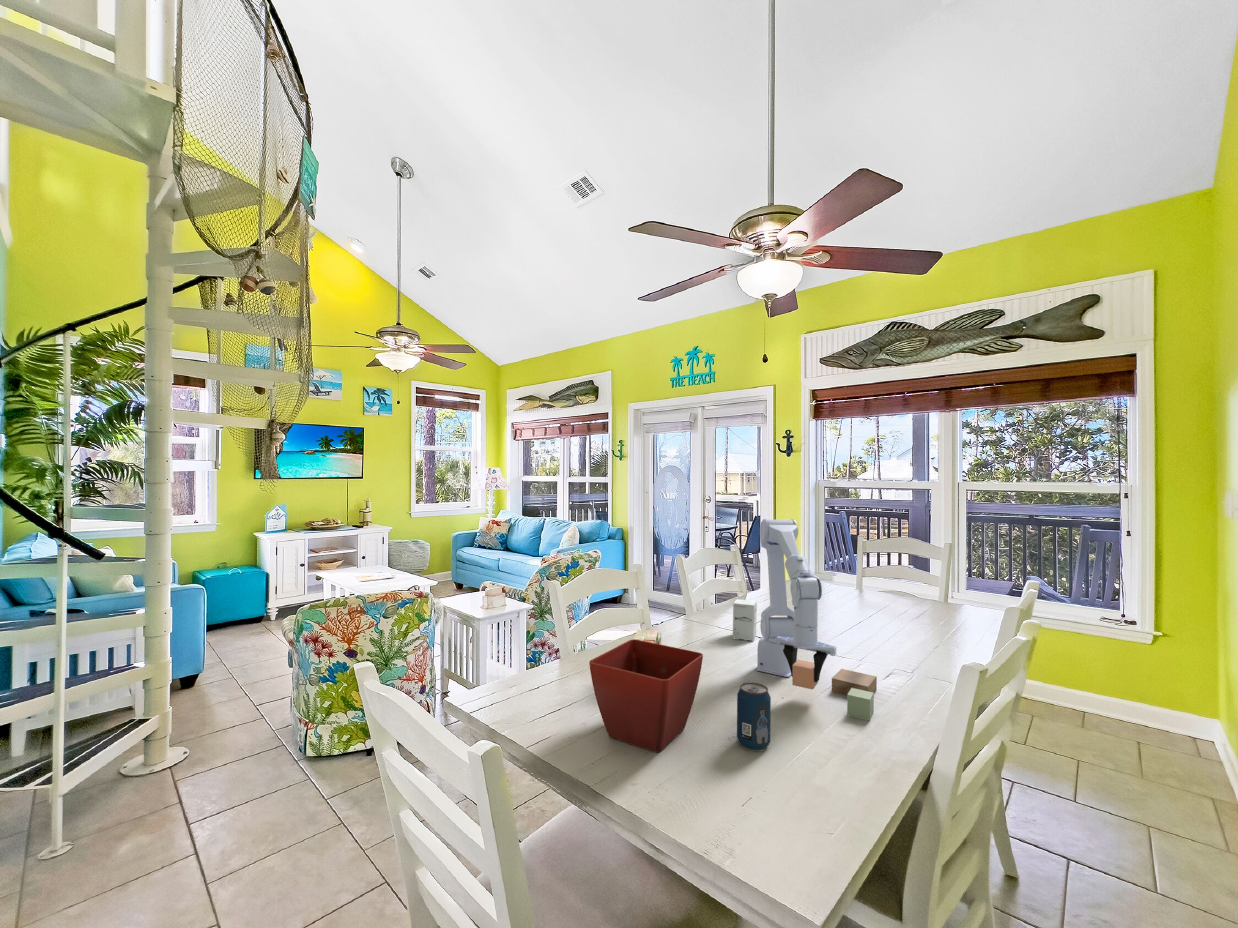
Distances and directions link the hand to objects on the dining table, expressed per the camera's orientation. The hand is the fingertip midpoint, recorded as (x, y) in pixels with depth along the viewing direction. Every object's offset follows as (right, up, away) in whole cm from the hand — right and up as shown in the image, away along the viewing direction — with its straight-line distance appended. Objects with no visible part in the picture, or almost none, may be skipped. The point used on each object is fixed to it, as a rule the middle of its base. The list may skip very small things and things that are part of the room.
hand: (805, 678), depth 138 cm
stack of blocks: (-39, -6, +17) cm, 43 cm away
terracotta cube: (0, -2, 0) cm, 2 cm away
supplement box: (-3, -7, +53) cm, 53 cm away
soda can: (-19, -5, -23) cm, 30 cm away
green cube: (+11, -6, -7) cm, 14 cm away
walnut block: (+15, -6, +6) cm, 18 cm away
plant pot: (-41, -5, -18) cm, 45 cm away
